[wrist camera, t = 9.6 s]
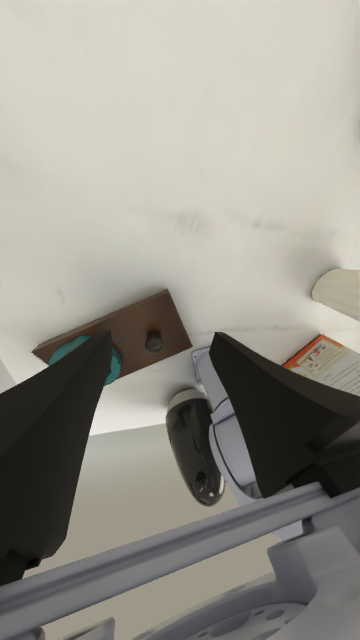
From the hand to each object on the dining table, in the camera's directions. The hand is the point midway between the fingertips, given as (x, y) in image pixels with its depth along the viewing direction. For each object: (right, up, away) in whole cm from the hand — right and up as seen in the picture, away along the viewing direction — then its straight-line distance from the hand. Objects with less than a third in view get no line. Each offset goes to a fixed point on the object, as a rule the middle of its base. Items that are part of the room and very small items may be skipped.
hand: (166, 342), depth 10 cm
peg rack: (-8, -2, +12) cm, 14 cm away
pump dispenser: (+2, -15, +22) cm, 27 cm away
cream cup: (+26, +7, +14) cm, 30 cm away
